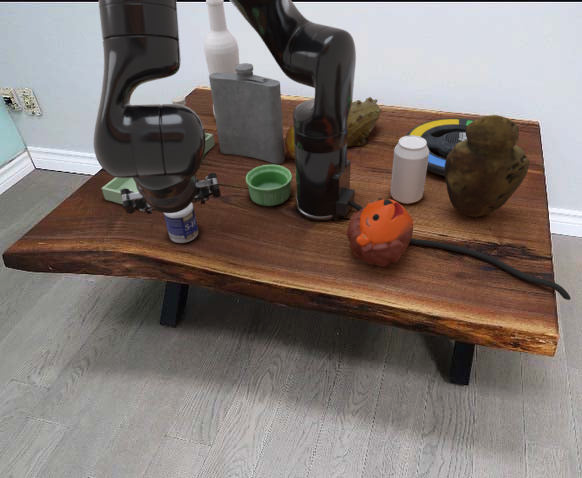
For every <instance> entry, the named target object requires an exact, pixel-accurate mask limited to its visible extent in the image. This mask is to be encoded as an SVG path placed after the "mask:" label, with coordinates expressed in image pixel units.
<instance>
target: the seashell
mask: <svg viewBox="0 0 582 478" xmlns="http://www.w3.org/2000/svg"><path fill="white" fill-rule="evenodd" d="M377 103H378V99H376V98H375V99H373V98H372V97H371V96H368V97H367V98H365V100H364V101H361V100H359V99H358V100H355V101H354V102H353V101H352V106H351V110H350V113H349V117H348V139H347V147H350V148H351V147H358V146H359V147H360V146H365V144H366V143H367V138H368V137H370V134H371V132H372V131H373V130H374V129H375V124H376V123H377V121H378V120H379V119H380V116H381V112H382V111H383V110H382V109H381V108H380V107H379V105H378V104H377Z"/></svg>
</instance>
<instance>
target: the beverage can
mask: <svg viewBox="0 0 582 478" xmlns="http://www.w3.org/2000/svg"><path fill="white" fill-rule="evenodd" d="M426 144H427V142H426V140H425V139H424V138H422V137H419V136H414V135H409V136H406V135H404V136H402V137H400V138H399V139H398V143H397V144H396V145H395V147H394V149H393V158H392V159H393V160H392V167H391V168H392V169H391V180H390V191H389V192H390V197H392V199H393V200H394V201H396V202H398V203H400V204H406V205H407V204H413V203H416V202H419V201H420V200H422V198H423V195H424V190H425V184H426V178H427V171H428V170H427V164H428V157H429V151H430V150H429V149H428V147H427V145H426Z"/></svg>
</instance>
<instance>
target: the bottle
mask: <svg viewBox="0 0 582 478" xmlns="http://www.w3.org/2000/svg"><path fill="white" fill-rule="evenodd" d="M224 2H225V1H224V0H205V4H206V5H207V13H208V22H209V32H208V34H207V35H206V38H205V40H204V43H203V50H204V52H203V53H204V56H205V61H206V65H207V66H206V67H207V70H208V76H209V75H210V74H212V73H234V74H237V72H236V70H235V66H236V65H238V64H240V51H239V50H240V49H239V45H238V41H237V39H236V36H234V35H233V33H232V32H231V31H230V30H229V29H228V27H227V21H226V14H225V7H224V6H225V5H224ZM212 110H213V116H214V117H215V113H214V106H213V105H212Z"/></svg>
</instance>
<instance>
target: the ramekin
mask: <svg viewBox="0 0 582 478" xmlns="http://www.w3.org/2000/svg"><path fill="white" fill-rule="evenodd" d="M292 179H293V174H292V172H291V171H290V169H288V168H287V167H286V166H283V165H280V164H263V165H259V166H257V167H254V168H252V169H251V170H249V171H248V172H247V174H246V176H245V182H246V185H247V188H248V194H249V197H250V199H251V200H252V202H254V203H255V204H257V205H260V206H264V207H272V206H277V205H280V204H283V203H284V202H286V201H287V200H288V199H289V197H290V195H291V186H292Z"/></svg>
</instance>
